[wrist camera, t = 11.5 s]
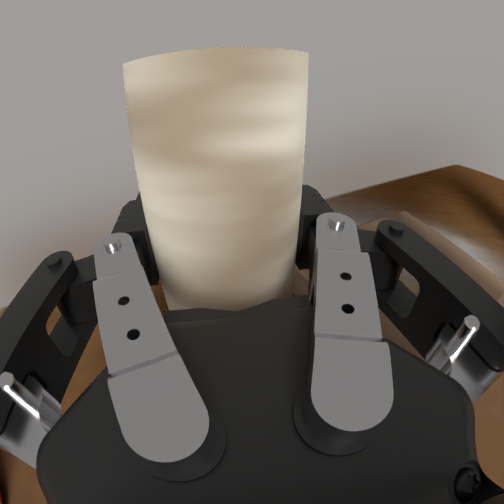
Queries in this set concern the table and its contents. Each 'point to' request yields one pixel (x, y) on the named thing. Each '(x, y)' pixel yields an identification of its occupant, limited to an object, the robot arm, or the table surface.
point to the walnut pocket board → (438, 241)
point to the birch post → (220, 170)
